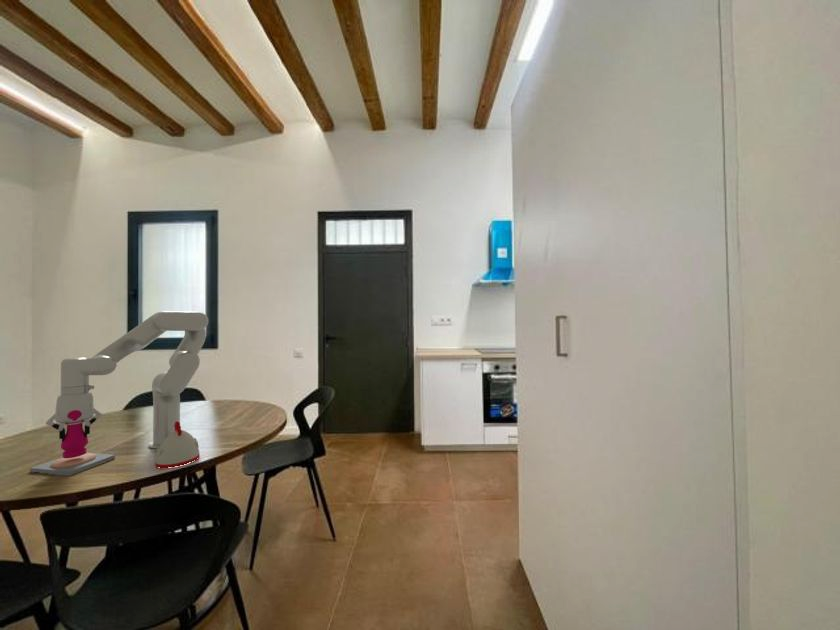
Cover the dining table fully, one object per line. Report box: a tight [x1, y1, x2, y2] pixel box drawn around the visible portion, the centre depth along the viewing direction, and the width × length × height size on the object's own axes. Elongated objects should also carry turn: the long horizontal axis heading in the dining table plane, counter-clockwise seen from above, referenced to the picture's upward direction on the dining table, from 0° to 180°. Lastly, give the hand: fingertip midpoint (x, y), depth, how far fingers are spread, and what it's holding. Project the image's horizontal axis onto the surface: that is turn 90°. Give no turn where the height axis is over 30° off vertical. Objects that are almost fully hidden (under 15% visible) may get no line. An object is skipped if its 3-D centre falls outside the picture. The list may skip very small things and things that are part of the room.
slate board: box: [29, 451, 116, 477], centre depth 127 cm, size 18×15×2 cm
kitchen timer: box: [155, 421, 200, 468], centre depth 130 cm, size 14×14×15 cm
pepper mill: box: [60, 410, 89, 458], centre depth 127 cm, size 7×7×20 cm
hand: (74, 437), depth 127 cm, fingers closed on pepper mill, 5 cm apart
